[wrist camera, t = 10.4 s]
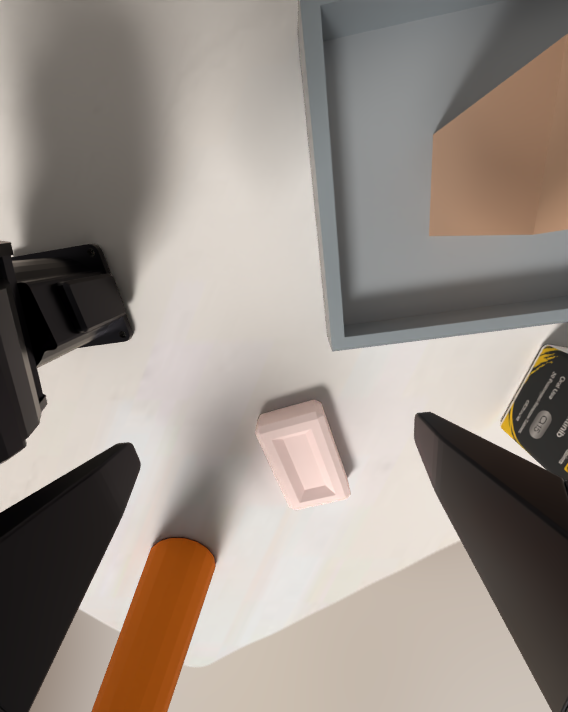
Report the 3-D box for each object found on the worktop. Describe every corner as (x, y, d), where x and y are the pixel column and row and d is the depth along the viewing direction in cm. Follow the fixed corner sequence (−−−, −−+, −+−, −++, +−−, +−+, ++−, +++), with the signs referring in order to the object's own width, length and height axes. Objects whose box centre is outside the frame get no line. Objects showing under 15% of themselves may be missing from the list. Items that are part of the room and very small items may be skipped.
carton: (429, 236, 17) (533, 234, 9) (433, 134, 15) (567, 34, 8) (518, 222, 16) (701, 209, 9) (534, 115, 15) (780, -11, 7)
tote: (327, 335, 20) (332, 351, 17) (297, 32, 14) (298, -18, 11) (604, 299, 18) (658, 310, 16) (704, -61, 12) (820, -146, 10)
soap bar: (319, 395, 22) (321, 412, 20) (347, 478, 26) (353, 501, 23) (256, 412, 23) (251, 431, 21) (291, 491, 26) (291, 514, 24)
